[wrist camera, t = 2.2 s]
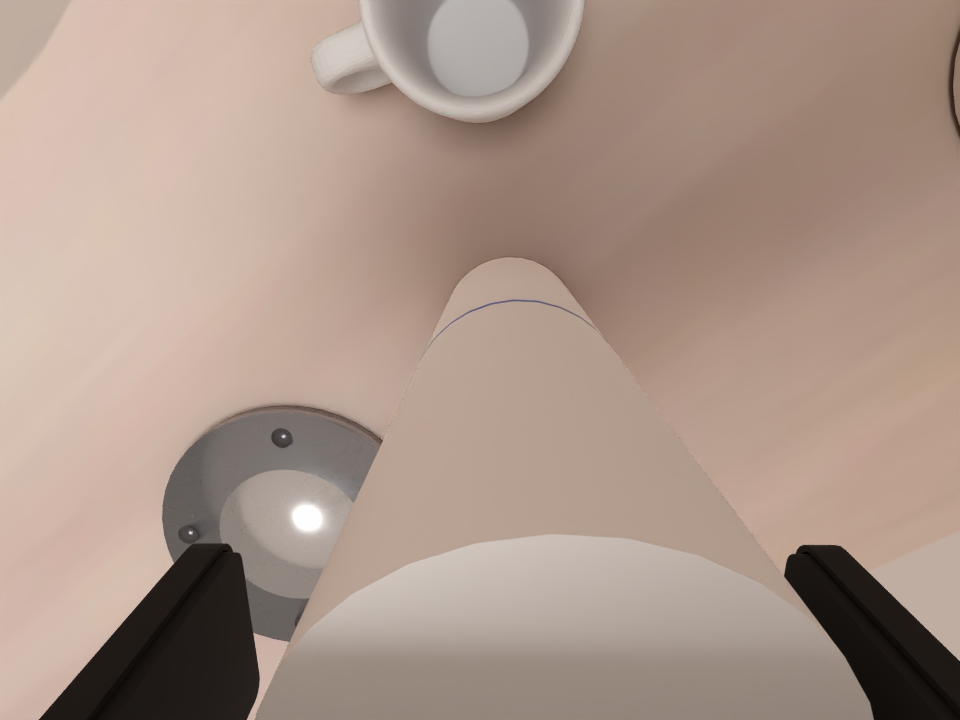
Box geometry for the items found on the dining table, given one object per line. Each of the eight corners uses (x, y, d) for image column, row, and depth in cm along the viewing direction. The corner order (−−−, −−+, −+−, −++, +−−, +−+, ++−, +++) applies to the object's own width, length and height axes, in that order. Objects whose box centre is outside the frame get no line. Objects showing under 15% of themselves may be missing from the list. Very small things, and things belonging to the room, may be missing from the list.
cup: (374, 177, 28) (329, 170, 21) (318, 9, 26) (244, -68, 19) (578, 110, 27) (610, 77, 19) (536, -71, 25) (554, -189, 17)
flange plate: (423, 406, 32) (420, 414, 31) (431, 631, 36) (429, 646, 35) (152, 404, 32) (139, 413, 31) (194, 626, 37) (184, 641, 36)
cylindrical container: (602, 318, 30) (1016, 798, 6) (513, 407, 32) (563, 1063, 8) (506, 228, 29) (547, 389, 5) (419, 327, 30) (131, 807, 7)
